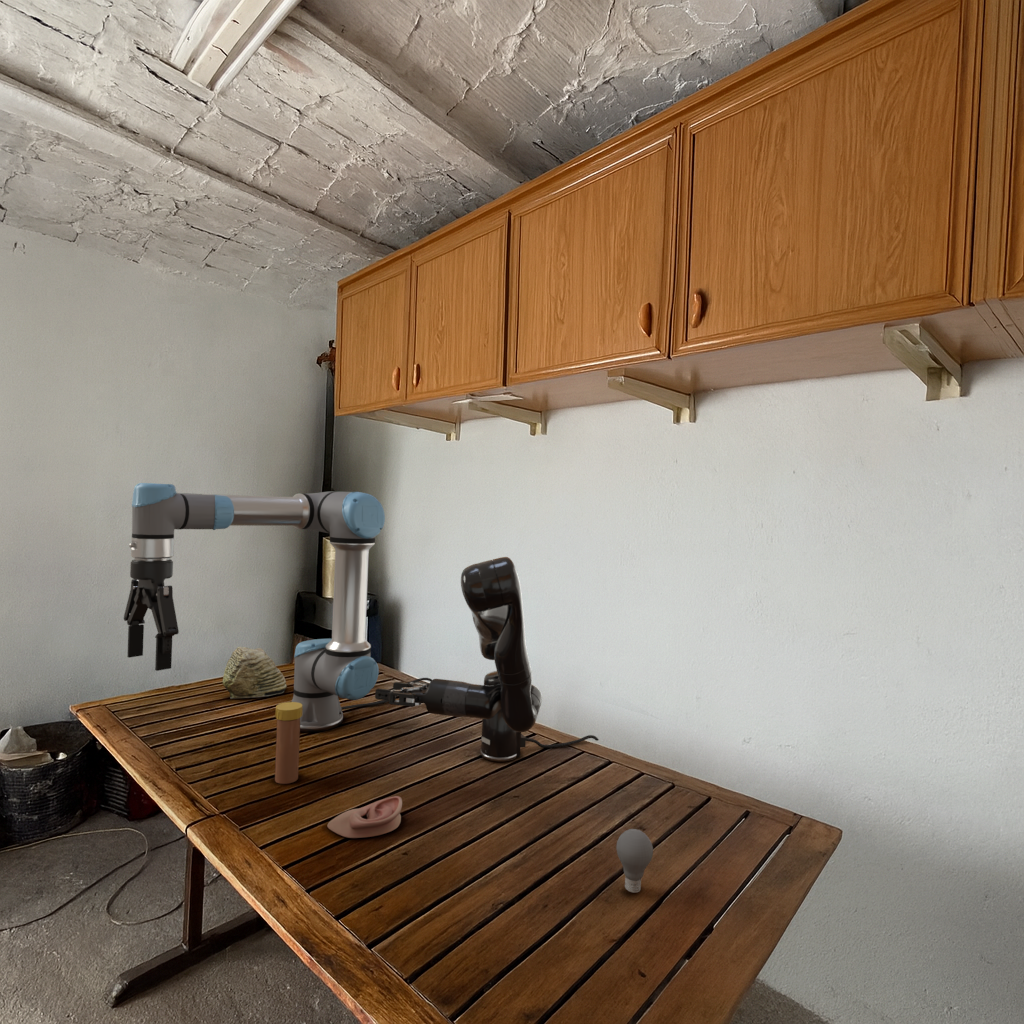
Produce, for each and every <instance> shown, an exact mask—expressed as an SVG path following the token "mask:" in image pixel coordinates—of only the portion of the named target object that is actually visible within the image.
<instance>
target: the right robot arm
mask: <svg viewBox="0 0 1024 1024" xmlns="http://www.w3.org/2000/svg"><path fill="white" fill-rule="evenodd" d="M460 589H461V593H462V595H463V598H464V600H465V603H466V605H467V607H468V609H469V610H470V612H471V616H472V621H473V624H474V628H475V630H476V632H477V635H478V642H479V650H480V653H481V655H482V657H483V658H484V659H486V660H489V661H494V665H495V669H496V670H493V671H491V672H488V673H486V674H485V675H484V678H483V684H477V683H470V682H467V681H462V680H461V681H460V680H452V679H445V678H444V679H442V678H433V679H432V681H431V682H430V681H429V682H424V681H423V682H422V681H419V682H415V683H408V682H399V681H396V682H395V681H394V682H393V684H392V689H389V688H388V689H387V688H376V689H375V691H374V692H375V693H374V698H375V700H380V701H383V700H388V701H389V702H388V705H394V706H403V707H404V706H405V707H411V708H414V707H416V706H421V705H422V704H424V705H425V707H426V708H425V709H426V711H427V712H428V713H429V714H432V715H439V716H449V717H457V718H474V719H481V738H480V739H481V740H480V742H481V743H480V756H481V758H483V759H484V760H486V761H491V762H496V763H505V762H506V763H507V762H511V761H514V760H515V759H518V758H521V751H522V750H521V749H522V748H526V742H531V743H533V744H536V745H537V746H538V747H540V748H542V749H555V748H561V747H567V746H572V745H575V744H579V743H581V742H583V741H586V740H588V739H593V740H595V741H599V740H600V739H599V738H598V737H597V736H595V735H593V734H588V735H585V736H583V737H581V738H578V739H576V740H575V739H574V740H571V741H567V742H561V743H555V744H543V743H541V742H540V741H538V740H536V739H534V738H532V737H531V738H530V737H526V736H525V735H524V734H523V733H526V732H528V731H530V730H531V729H532V728H533V727H534V725H535V724H536V722H537V719H538V716H539V712H540V710H541V709H540V708H541V705H542V702H543V694H542V691H541V690H540V689H539V687H538V686H536V685H534V684H533V670H532V666H531V661H530V657H529V653H528V647H527V640H526V639H527V637H526V623H525V622H526V621H525V612H524V601H523V594H522V585H521V581H520V577H519V574H518V570H517V567H516V565H515V562H514V561H513V560H512V559H511V558H510V557H508V556H501V557H497V558H492V559H489V560H484V561H481V562H477V563H474V564H471V565H468V566H466V567H465V568H464V569H463V570H462V572H461V575H460ZM396 696H397V697H398V698H397V697H396Z"/></svg>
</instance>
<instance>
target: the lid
mask: <svg viewBox="0 0 1024 1024" xmlns="http://www.w3.org/2000/svg"><path fill="white" fill-rule="evenodd" d="M302 709H303V707H302V704H301V703H298V702H292V701H286V702H280V703H278V704H276V706H275V715H274V717H275V719H276V720H277V719H278V720H283V721H289V720H295V719H298V718H300V717H301V716H302Z"/></svg>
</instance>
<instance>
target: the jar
mask: <svg viewBox="0 0 1024 1024" xmlns="http://www.w3.org/2000/svg"><path fill="white" fill-rule="evenodd" d="M275 734H276V736H275V761H274V762H275V763H274V782H275V783H277V784H280V785H289V784H291V783H294V782H297V780H298V779H299V766H300V765H299V764H300V741H301V739H300V738H301V731H300V718H298V719H295V720H289V721H283V720H278V719H276V733H275Z"/></svg>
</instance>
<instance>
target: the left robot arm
mask: <svg viewBox="0 0 1024 1024" xmlns="http://www.w3.org/2000/svg"><path fill="white" fill-rule="evenodd" d="M385 515H386V513H385V511H384V508H383V505H382V503H381V502H380V501H379V500H378V498H377V497H375V495H373V494H370V493H367V492H363V491H362V492H361V491H337V490H336V491H335V490H333V491H332V490H330V491H321V492H311V493H295V494H294V495H293V496H276V495H275V496H274V495H273V496H272V495H248V494H247V495H246V494H244V495H243V494H220V493H219V494H218V493H217V494H216V493H215V494H214V493H189V492H187V493H186V492H177V491H176V486H175V485H174V484H173V483H152V482H139V483H137V484H136V485H135V486H134V488H133V492H132V501H131V520H132V521H131V542H130V543H128V547H129V548H130V549H131V550H130V556H131V558H133V559H132V560H131V561H130V567H129V568H130V571H129V574H130V575H129V576H130V578H131V581H130V590H129V594H128V598H127V603H126V607H125V610H124V615H123V621H124V622H126V624H127V626H128V629H127V630H128V631H127V658H135V657H142V656H144V635H145V634H144V630H145V625H144V624H145V623H146V621H145V619H144V618H145V616H146V615H147V612H148V609H149V610H151V613H152V618H153V620H154V624H155V627H156V631H157V633H156V635H155V636H154V638H155V661H154V663H155V665H154V668H155V669H154V670H155V671H157V672H159V671H164V670H169V669H172V659H173V657H172V655H173V637H175V636H176V635H179V632H180V631H179V625H178V619H177V615H176V614H177V613H176V609H175V603H174V597H173V595H174V593H173V585H165V580H167V579H171V578H172V577H173V575H174V573H173V572H174V561H173V560H172V559H171V558H173V557H174V554H175V553H174V552H175V530H213V531H215V530H224V529H228V528H230V526H233V527H234V526H237V527H238V526H240V527H243V526H246V527H247V526H249V527H250V526H258V527H259V526H268V527H269V526H276V527H277V526H282V527H284V526H285V527H286V526H287V527H288V526H289V527H290V526H291V527H293V528H294V529H296V530H308V531H309V530H310V531H316V532H319V533H325V534H329V544H330V545H331V546H332V547H333V548H334V550H335V551H334V572H333V573H334V577H333V599H332V625H331V626H332V627H331V638H317V639H308V640H304V641H300V642H299V643H297V645H296V646H295V650H294V655H293V657H294V672H293V673H294V674H293V695H292V696H293V697H292V699H291V702H298V703H301V704H302V707H303V709H302V716H301V717H300V733H316V732H325V731H329V730H332V729H335V728H337V727H339V726H340V725H342V723H343V722H344V714H343V710H349V709H355V708H364V707H372V706H377V705H382V704H386V703H389V701H388V700H380V701H373V702H366V703H358V704H350V705H343V706H341V702H340V699H339V698H341V699H342V700H343V699H344V700H348V701H349V700H350V701H357V700H360V699H362V698H364V697H365V696H367V695H368V694H370V692H371V690H372V689H374V687H375V685H376V683H377V682H378V678H379V674H380V672H379V671H380V670H379V669H380V668H379V665H378V663H377V662H376V660H375V659H374V657H371V652H372V649H371V648H372V644H371V643H370V642H368V640H367V639H366V631H367V607H368V606H367V605H368V604H367V602H368V582H369V581H368V579H369V555H370V553H369V552H370V550H371V548H372V547H374V545H375V544H376V536H378V535H379V534H380V533H381V530H383V528H384V526H385V522H386V521H385V520H386V516H385ZM432 680H433V679H432V678H429V677H421V678H417V679H414V680H411V681H408V682H407V683H415V682H422V681H423V682H424V681H429V683H430V682H431V681H432ZM397 697H398V696H396V698H397Z"/></svg>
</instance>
